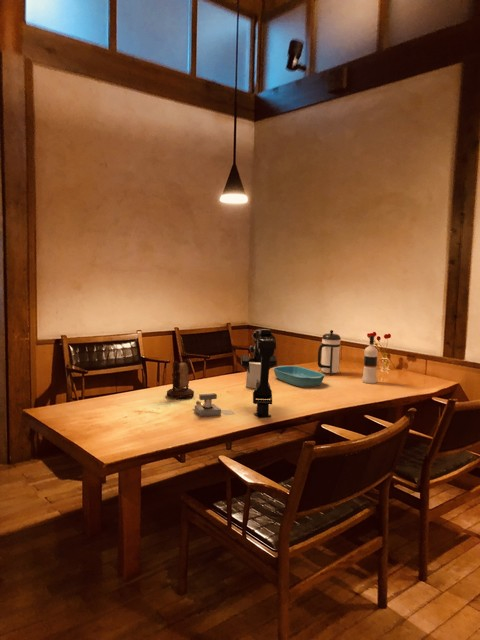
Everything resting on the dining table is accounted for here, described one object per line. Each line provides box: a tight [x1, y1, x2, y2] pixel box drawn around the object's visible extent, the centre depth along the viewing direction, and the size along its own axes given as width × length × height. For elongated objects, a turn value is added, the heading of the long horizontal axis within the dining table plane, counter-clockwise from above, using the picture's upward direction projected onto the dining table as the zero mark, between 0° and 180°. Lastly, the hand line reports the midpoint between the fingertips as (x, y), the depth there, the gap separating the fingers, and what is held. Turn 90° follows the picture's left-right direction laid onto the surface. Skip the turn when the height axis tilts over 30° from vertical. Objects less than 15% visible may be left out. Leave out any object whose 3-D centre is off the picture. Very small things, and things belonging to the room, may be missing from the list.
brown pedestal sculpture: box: [166, 359, 195, 400], centre depth 282 cm, size 15×15×20 cm
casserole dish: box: [272, 365, 326, 388], centre depth 328 cm, size 37×22×7 cm, turn 32°
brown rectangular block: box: [198, 393, 218, 409], centre depth 250 cm, size 4×8×9 cm, turn 112°
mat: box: [221, 409, 236, 416], centre depth 254 cm, size 8×6×1 cm
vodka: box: [361, 335, 379, 385], centre depth 331 cm, size 9×9×30 cm
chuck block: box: [192, 400, 222, 418], centre depth 255 cm, size 20×10×4 cm, turn 22°
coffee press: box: [317, 329, 342, 376], centre depth 353 cm, size 17×16×30 cm
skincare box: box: [245, 363, 261, 389], centre depth 309 cm, size 8×6×15 cm
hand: (257, 372), depth 281 cm, fingers open, 9 cm apart
